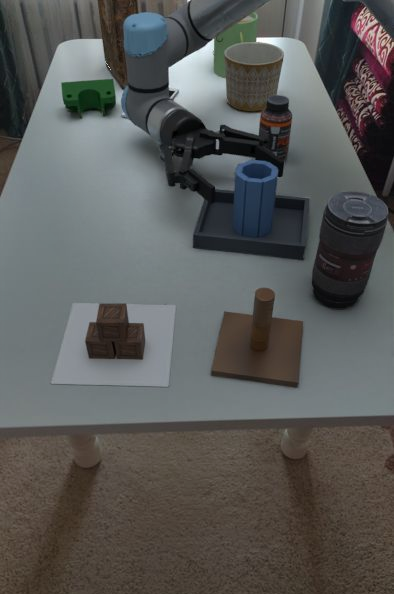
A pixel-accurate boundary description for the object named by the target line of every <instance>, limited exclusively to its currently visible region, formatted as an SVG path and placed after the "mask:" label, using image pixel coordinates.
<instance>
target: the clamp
mask: <svg viewBox="0 0 394 594" xmlns="http://www.w3.org/2000/svg"><path fill="white" fill-rule="evenodd" d="M60 84H61V97H62V102H63V105H65V108H66V110H68V111H70V112H74V111H75V112H77V113H78V119H83V117H82V116H83V115H82V113H83V112H84V111H87V110H88V111H89V110H99V111H101V114H102V115H101V116H102V117H106V113H105V109H111V108H114V107H115V106H116V104H117V96H116V95H117V94H116V88H115V81H114V78H105V79H103V78H101V79H91V80H75V81H64V82H60Z"/></svg>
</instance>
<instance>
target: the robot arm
mask: <svg viewBox="0 0 394 594" xmlns="http://www.w3.org/2000/svg"><path fill="white" fill-rule="evenodd" d="M272 1H273V0H189V1H186V3H184V4H183V5H182V6H180V7H179V8H177V10H175V11H173V12H172V13H170V14H168V15H166V16H165V17H164V16H163V15H161V14H159V13H155V12H149V11H148V12H146V11H145V12H138V14H133V15H130V16H129V17H127V18H126V20H125V21H124V25H123V29H124V45H123V46H124V50H125V58H126V67H127V77H128V85H127V87H126V88H125V89H124V90H122V91H123V92H122V95H121V97H120V106H121V110H122V112H124V114H125V115H126V116H127V117H128V118H127V119H129V120H130V122H131V123H132V124H133V125H135V126H136V127H137V128H140V129H141V130H142V131H143V132H145V133H146V134H147V135H149V136H150V137H151V138H152V139H154V140H155V141H156V142H158V143H159V160H161V161H162V163H163V164H164V170H165V175H166V181H167V186H168V187H170V188H173V187H176V184H179V189H180V190H184V191H185V190H189V191H190V192H193V193H195V192H196V193H197V194H198V195H200V196H201V197H202V198H203V199H206V200H207V201H208V202H209V203H211V204H212V203H215V189H216V186H215V185H214V184H213V183H211V182H210V181H209V180H207V178H205V177H203V175H201V174H200V173H198V172H197V171H196V170H195V169H193V168H192V167H193V162H194V160H196V159H197V160H201V159H203V158H205V157H208V156H213V155H214V156H223V155H224V154H225V155H230V156H231V155H232V156H239V157H246V158H252V159H253V158H254V160H259V161H266V162H270V163H271V164H273V165H274V166H276V167H277V168H278V179H279V178H282V177H284V170H285V161H283V160H282V159H280V158H279V157H277V156H276V155H275V153H273V152H272V151H270V150H269V149H268V147H269V138H267V137H263V136H259V134H255V133H251V132H247V131H243V130H241V129H240V130H239V129H236V128H232V127H230V126H228V125H227V124H220V125H219V129H218V130H215V131H214V130H212V129H208V128H207V127H206V125H205V123H204V122H203V120H202V119H201V118H200V117H198V116H197V115H196V114H194V113H192V112H191V111H189V110H188V109H187V108H186V107H184V106H183V105H181V104H179V103H178V102H177V101H175V100H173V99H171V98H170V97H169V88H170V71H169V68H170V67H172V66H173V65H176V64H177V63H178V62H180V61H182V60H183V59H185V58H187V57H188V56H191V55H192V54H193V53H195V52H197V51H200V50H201V49H203V48H205V47H206V46H207V45H208V44H209V43H210V42H212V41H214V38H216V37H217V36H219V35H220V34H222V33H223V32H225V31H226V30H228V29H229V28H231V27H232V26H234V25H235V24H237V23H238V22H240V21H241V20H243V19H244V18H246V17H247V16H249V15H250V14H252V13H253V12H254V13H256V12H257V11H258V10H260V9H261V8H262V7H265V5H268V3H270V2H272ZM342 1H343V2H344V3H347V2H348V3H353V2H359V3H361V4H362V5H364V7H365V8H366V9H367V11H369V13H370V14H371V15H372V17H373V18H374V19H375V20H376V22H377V23H378V24H379V26H380V27H382V29H383V30H384V31H385V33H386V34H387V36H389V38H390V39H391V40H392V42H394V0H342ZM217 141H218V148H217ZM174 156H175V157H177V158H178V159H179V158H180V159H181V160H180V164H179V165H180V166H179V169H178V171H176V170H175V164H174V159H173V157H174Z"/></svg>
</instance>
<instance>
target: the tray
mask: <svg viewBox="0 0 394 594" xmlns="http://www.w3.org/2000/svg"><path fill="white" fill-rule="evenodd" d="M310 200H311V198H310V197H303V196H302V197H301V196H293V195H292V196H290V195H282V194H276V196H275V205H274V214H273V222H272V229H271V232H270V233H268V234H266V235H263V236H261V237H258V236H257V238H255V237H246V236H243V235H240V234H239V233H238V232H236V231H235V230H234V229H233V207H234V190H229V189H218V188H215V203H212V204H211V203H209V202H208V201H207V200H206V199H205V198H203V202H202V205H201V208H200V212H199V215H198V217H197V221H196V224H195V227H194V230H193V234H192V247H193V248H194V249H203V250H212V251H219V252H230V253H238V254H247V255H248V254H249V255H256V256H264V257H265V256H267V257H275V258H283V259H293V260H304V258H305V253H306V245H307V236H308V223H309V212H310Z"/></svg>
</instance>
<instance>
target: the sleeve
mask: <svg viewBox="0 0 394 594" xmlns="http://www.w3.org/2000/svg"><path fill="white" fill-rule="evenodd" d="M278 179H279V177H278V168H277V167H276V166H274V165H273V164H271V163H270V162H266V161H259V160H255V159H251V160H250V159H249V160H246V161H244V162H241V163H238V165H237V164H236V168H235V172H234V190H233V191H234V207H233V229H234V230H235V231H236V232H238V233H239V234H240V235H243V236H246V237H255V238H257V236H258V237H261V236H263V235H266V234H268V233H270V232H271V229H272V222H273V214H274V205H275V196H276V195H277V185H278Z"/></svg>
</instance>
